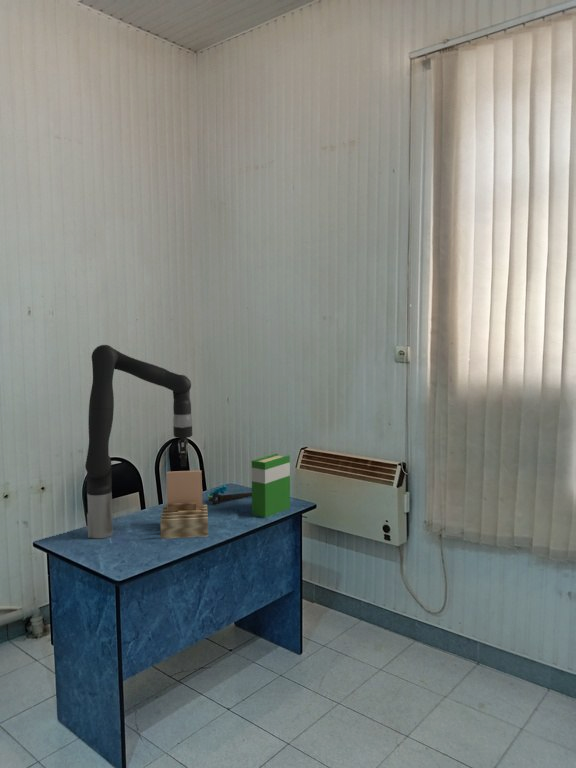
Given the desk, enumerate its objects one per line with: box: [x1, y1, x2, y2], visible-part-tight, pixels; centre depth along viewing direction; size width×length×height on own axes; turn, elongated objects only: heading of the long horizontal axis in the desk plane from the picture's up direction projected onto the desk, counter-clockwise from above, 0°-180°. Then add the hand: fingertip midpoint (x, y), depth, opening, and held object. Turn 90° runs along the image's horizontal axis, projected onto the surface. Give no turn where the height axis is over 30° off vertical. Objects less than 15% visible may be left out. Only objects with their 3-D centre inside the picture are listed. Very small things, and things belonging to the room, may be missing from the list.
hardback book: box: [251, 453, 291, 519], centre depth 281 cm, size 18×7×24 cm, turn 143°
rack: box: [159, 504, 209, 540], centre depth 255 cm, size 18×19×8 cm
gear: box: [206, 484, 228, 499], centre depth 299 cm, size 11×6×10 cm
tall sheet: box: [166, 470, 203, 510], centre depth 260 cm, size 14×2×22 cm, turn 98°
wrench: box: [207, 492, 252, 506], centre depth 299 cm, size 5×5×30 cm
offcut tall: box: [168, 502, 196, 513], centre depth 256 cm, size 11×2×10 cm, turn 98°
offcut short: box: [178, 510, 201, 515], centre depth 253 cm, size 9×2×8 cm, turn 98°
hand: (183, 464), depth 258 cm, fingers open, 8 cm apart
